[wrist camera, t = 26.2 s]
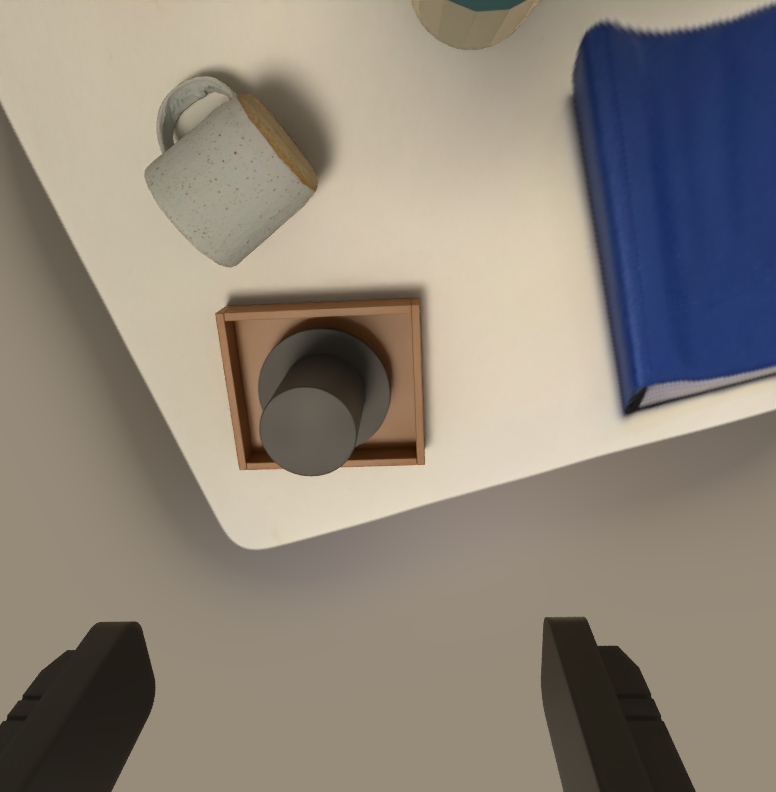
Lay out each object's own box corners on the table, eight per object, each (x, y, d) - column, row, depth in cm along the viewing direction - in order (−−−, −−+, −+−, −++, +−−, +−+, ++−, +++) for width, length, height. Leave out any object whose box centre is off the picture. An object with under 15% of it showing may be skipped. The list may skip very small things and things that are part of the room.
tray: (419, 297, 42) (419, 304, 40) (424, 450, 46) (424, 465, 44) (225, 305, 43) (214, 313, 40) (247, 455, 47) (239, 470, 44)
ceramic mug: (334, 186, 39) (315, 185, 32) (247, 262, 41) (211, 278, 34) (226, 48, 37) (179, 13, 30) (139, 136, 39) (76, 124, 32)
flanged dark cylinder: (388, 319, 42) (382, 354, 33) (394, 439, 45) (390, 500, 37) (257, 324, 43) (218, 360, 34) (272, 443, 46) (241, 503, 37)
